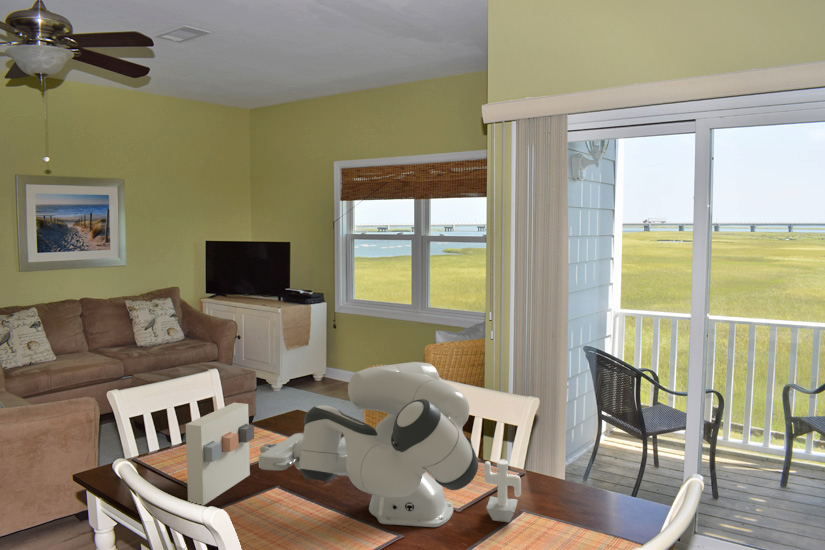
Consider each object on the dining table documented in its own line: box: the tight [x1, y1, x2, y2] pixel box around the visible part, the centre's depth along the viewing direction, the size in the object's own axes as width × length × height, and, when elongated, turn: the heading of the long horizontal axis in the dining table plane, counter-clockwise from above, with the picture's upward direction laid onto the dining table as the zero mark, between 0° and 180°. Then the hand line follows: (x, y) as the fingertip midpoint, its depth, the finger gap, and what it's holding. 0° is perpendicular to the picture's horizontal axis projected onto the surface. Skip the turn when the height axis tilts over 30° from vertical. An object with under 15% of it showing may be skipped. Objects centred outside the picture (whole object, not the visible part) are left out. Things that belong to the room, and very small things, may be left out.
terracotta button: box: [222, 433, 238, 452], centre depth 177 cm, size 4×4×4 cm
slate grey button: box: [203, 442, 221, 462], centre depth 170 cm, size 4×4×4 cm
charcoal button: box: [238, 424, 255, 443], centre depth 185 cm, size 4×4×4 cm
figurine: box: [483, 458, 522, 523], centre depth 160 cm, size 7×9×15 cm
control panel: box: [185, 402, 251, 506], centre depth 178 cm, size 5×22×22 cm, turn 161°
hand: (262, 447), depth 173 cm, fingers closed
